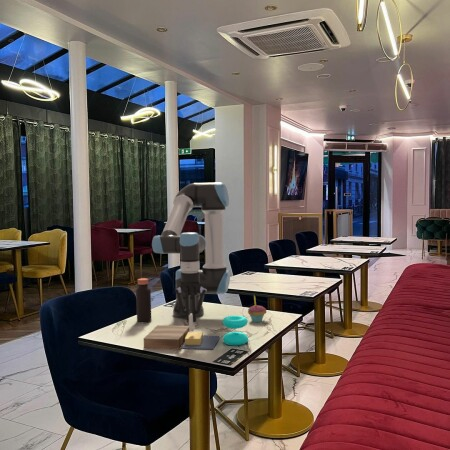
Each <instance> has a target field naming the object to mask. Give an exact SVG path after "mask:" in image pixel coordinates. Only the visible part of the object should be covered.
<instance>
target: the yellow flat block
mask: <svg viewBox="0 0 450 450" xmlns="http://www.w3.org/2000/svg"><path fill="white" fill-rule="evenodd" d="M203 335H204V332H203V331H190V332H188V334H187V335H186V337H185V345H200V344H201V342H202V339H203Z"/></svg>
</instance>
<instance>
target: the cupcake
mask: <svg viewBox="0 0 450 450" xmlns="http://www.w3.org/2000/svg"><path fill="white" fill-rule="evenodd" d="M253 301H254V302H253V303H254V305H252V306H250V307H249V308H248V310H247V313H248V315H249V316H250V320H251V322H253V323H260V322H263V318H264V316H265V315H266V314H267V308H265V307H264V306H263V305H257V302H256V296H255V295H253Z"/></svg>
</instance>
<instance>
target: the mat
mask: <svg viewBox="0 0 450 450" xmlns="http://www.w3.org/2000/svg"><path fill="white" fill-rule="evenodd" d="M220 338H221V335H206V334H205V335H204V334H203V339H202V342H201V344H200V345H185V343H184V344H183V345H182V347H181V348H180V349H181V350H205V351H207V350H208V351H213V350H214V349H215V347H216V345H217V343H218V342H219V340H220Z"/></svg>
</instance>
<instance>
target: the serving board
mask: <svg viewBox="0 0 450 450" xmlns="http://www.w3.org/2000/svg"><path fill="white" fill-rule="evenodd" d="M188 332H191V331H189V325H166V324H165V325H159V324H158V325H156V326H155V327H154V328H153V329H151V331H150V332H149V333H147V334H146V335H145V336H144V337H143V349H144V348H153V349H152V350H173V351H174V350H175V351H176V350H179V351H180V349H181V347H182V346H183V344H184V343H185V337H186V335H187V334H188Z"/></svg>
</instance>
